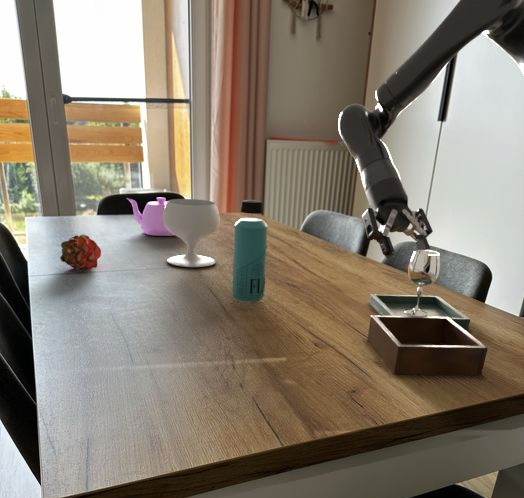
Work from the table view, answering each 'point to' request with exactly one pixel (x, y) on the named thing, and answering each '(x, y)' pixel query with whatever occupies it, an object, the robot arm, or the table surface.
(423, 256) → the wineglass
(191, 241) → the chalice
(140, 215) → the teapot
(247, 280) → the beverage bottle
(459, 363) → the brown wooden box
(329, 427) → the table surface
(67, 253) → the dragon fruit
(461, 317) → the tray
